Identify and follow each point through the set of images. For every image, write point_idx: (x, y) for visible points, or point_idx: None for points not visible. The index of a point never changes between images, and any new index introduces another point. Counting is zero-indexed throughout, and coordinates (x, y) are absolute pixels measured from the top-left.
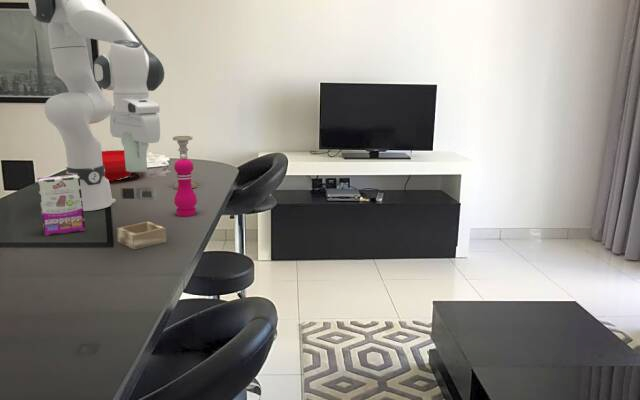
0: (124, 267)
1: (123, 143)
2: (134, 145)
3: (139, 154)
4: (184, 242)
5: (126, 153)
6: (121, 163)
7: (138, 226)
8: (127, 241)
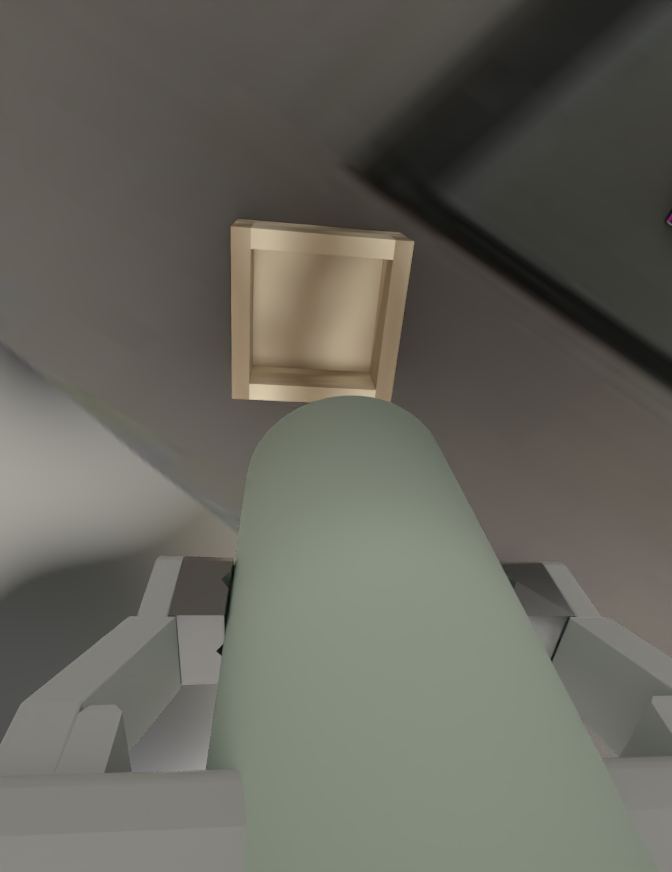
0: (25, 13)
1: (657, 679)
2: (233, 677)
3: (169, 585)
4: (178, 415)
5: (366, 508)
6: None
7: (379, 346)
8: (306, 227)
